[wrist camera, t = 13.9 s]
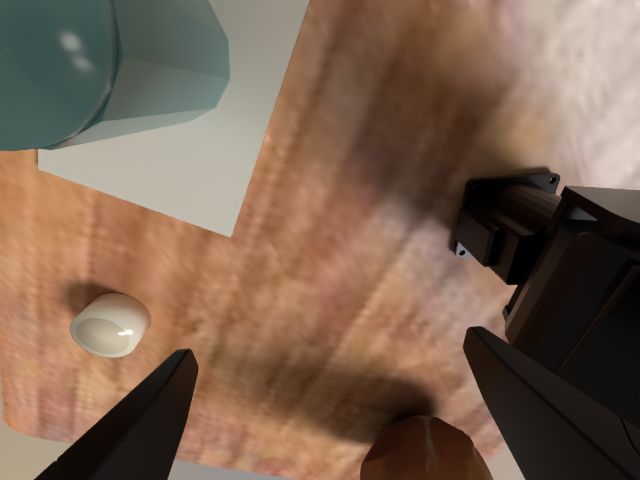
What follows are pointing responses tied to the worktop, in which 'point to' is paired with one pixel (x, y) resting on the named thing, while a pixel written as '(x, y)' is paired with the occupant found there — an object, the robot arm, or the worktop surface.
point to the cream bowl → (111, 325)
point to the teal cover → (105, 68)
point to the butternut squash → (423, 453)
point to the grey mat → (200, 129)
